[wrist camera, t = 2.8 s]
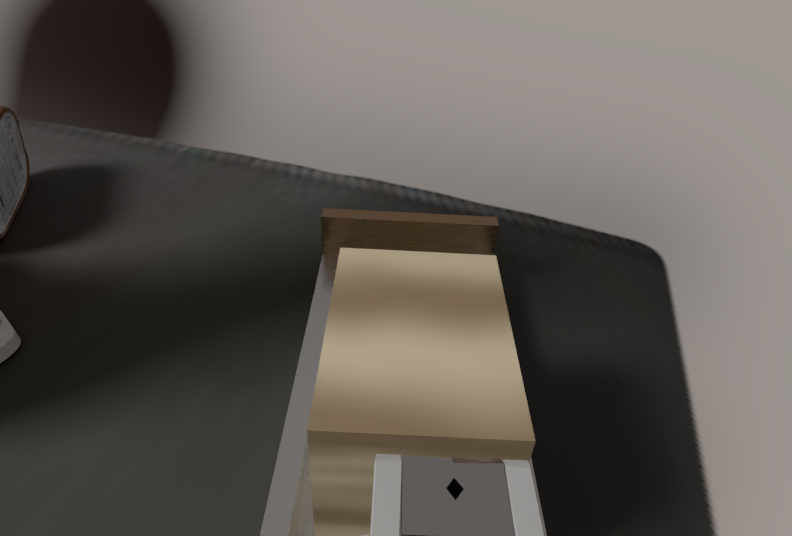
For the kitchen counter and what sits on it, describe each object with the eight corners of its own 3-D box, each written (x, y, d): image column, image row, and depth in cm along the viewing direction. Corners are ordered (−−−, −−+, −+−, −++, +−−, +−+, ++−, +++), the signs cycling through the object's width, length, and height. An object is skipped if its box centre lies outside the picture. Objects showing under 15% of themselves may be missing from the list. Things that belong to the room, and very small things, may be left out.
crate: (485, 605, 24) (535, 441, 17) (319, 598, 24) (307, 430, 17) (465, 407, 32) (494, 247, 26) (343, 401, 32) (341, 240, 26)
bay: (553, 674, 23) (589, 607, 19) (246, 661, 23) (227, 591, 19) (485, 283, 44) (496, 217, 40) (325, 275, 44) (323, 208, 40)
